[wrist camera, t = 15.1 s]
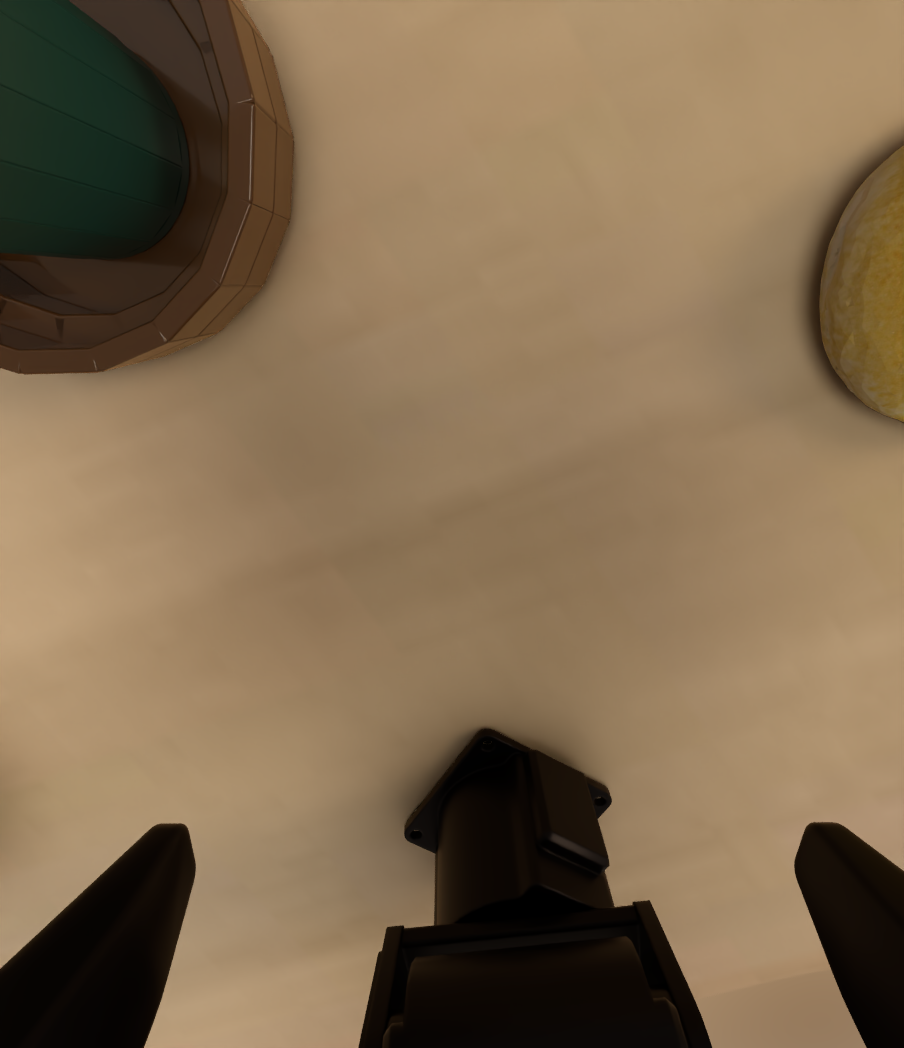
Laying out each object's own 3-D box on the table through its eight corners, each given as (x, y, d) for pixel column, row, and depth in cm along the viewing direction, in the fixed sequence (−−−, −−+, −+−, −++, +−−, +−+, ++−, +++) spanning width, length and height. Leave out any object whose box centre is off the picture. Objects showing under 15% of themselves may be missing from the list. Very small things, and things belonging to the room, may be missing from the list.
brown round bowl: (364, 271, 18) (341, 267, 14) (46, 409, 19) (-56, 440, 15) (168, -204, 14) (62, -393, 10) (-210, 10, 15) (-432, -84, 12)
